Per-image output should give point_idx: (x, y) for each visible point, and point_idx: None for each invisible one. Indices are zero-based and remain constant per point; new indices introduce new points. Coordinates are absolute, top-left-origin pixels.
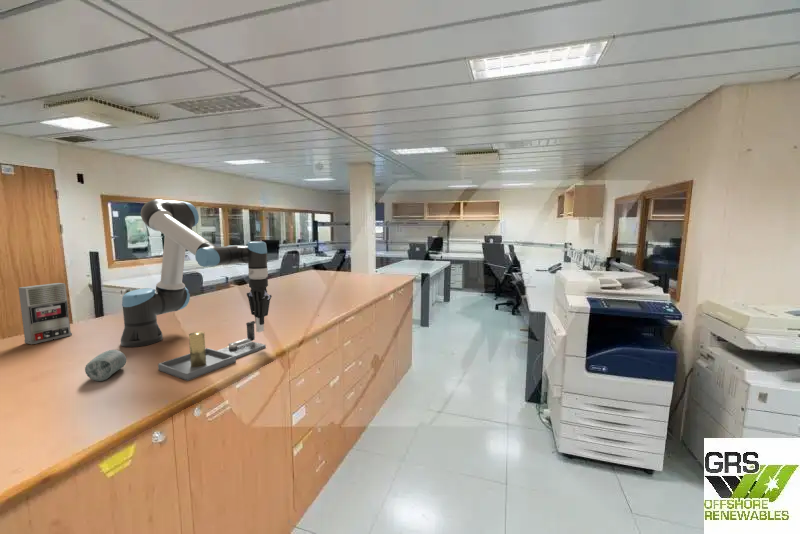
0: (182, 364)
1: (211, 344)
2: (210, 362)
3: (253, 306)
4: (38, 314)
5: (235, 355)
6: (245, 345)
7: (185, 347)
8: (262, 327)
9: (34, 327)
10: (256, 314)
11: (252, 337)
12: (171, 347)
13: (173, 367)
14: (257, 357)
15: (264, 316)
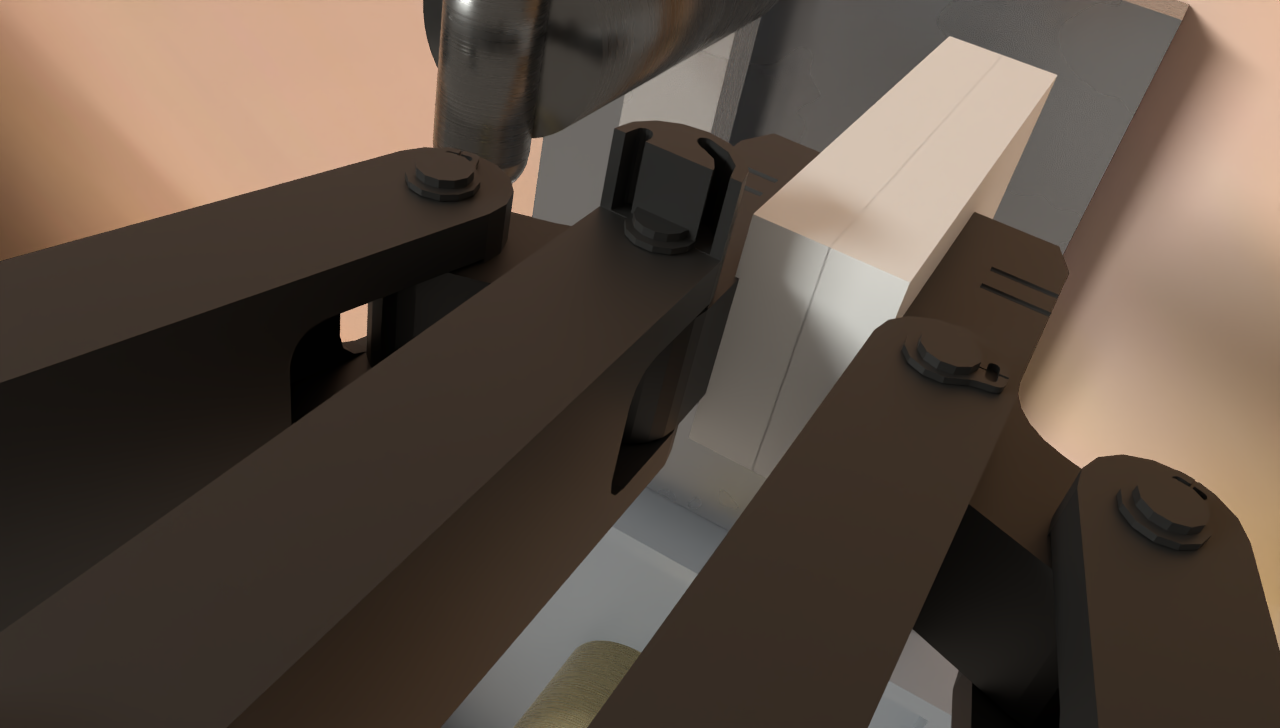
0: (496, 671)
1: (225, 39)
2: None
3: (173, 495)
4: None
5: None
6: (755, 131)
7: (110, 189)
8: (1007, 167)
9: None
10: (641, 478)
11: (759, 6)
12: (24, 204)
13: (485, 717)
14: (1259, 524)
15: (1039, 444)
